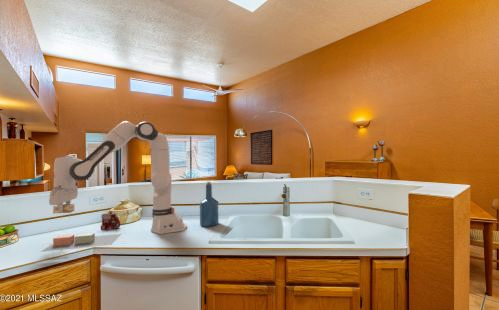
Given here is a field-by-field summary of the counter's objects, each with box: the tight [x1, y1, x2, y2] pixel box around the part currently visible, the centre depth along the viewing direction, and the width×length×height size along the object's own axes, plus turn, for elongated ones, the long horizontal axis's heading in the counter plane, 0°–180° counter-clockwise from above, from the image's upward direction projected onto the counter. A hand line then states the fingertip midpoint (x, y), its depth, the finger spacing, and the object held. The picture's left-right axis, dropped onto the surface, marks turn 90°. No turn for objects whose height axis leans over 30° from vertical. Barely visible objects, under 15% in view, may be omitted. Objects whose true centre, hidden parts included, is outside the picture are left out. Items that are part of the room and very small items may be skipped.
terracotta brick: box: [52, 234, 75, 246], centre depth 122 cm, size 8×4×4 cm, turn 104°
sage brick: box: [74, 232, 96, 244], centre depth 124 cm, size 8×4×4 cm, turn 104°
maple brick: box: [52, 203, 75, 214], centre depth 122 cm, size 8×4×4 cm, turn 104°
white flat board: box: [40, 233, 122, 252], centre depth 124 cm, size 32×17×1 cm, turn 104°
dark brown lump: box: [100, 213, 121, 231], centre depth 149 cm, size 7×12×10 cm, turn 84°
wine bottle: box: [199, 181, 220, 228], centre depth 157 cm, size 14×13×30 cm
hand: (64, 209), depth 122 cm, fingers closed on maple brick, 4 cm apart
